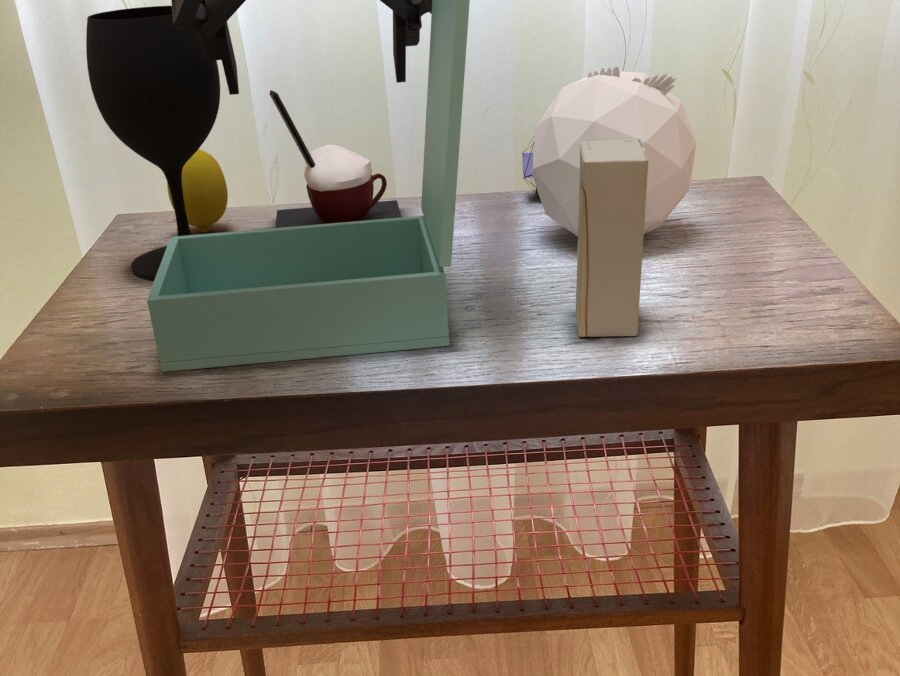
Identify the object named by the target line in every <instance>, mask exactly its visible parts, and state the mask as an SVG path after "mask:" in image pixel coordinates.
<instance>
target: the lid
mask: <svg viewBox="0 0 900 676" xmlns="http://www.w3.org/2000/svg"><path fill="white" fill-rule="evenodd" d="M470 1H471V0H432V14H431V18H430V19H431V20H430V35H429V36H430V37H429V55H428V74H427V76H428V77H427V90H426V91H427V92H426V93H427V94H426V109H425V129H424V147H423V165H422V186H421V201H420V203H421V204H420V209H421V212H422V216H424V219H425V222H426V225H427V228H428V231H429V234H430V237H431V241H432V244H433V247H434V250H435V253H436V256H437V259H438V262H439V265H440V267H443V268H451V266H452V260H453V259H452V257H453V245H454V244H453V243H454V230H455V229H454V228H455V214H456V199H457V184H458V175H459V174H458V171H459V160H460V157H459V156H460V146H461V145H460V144H461V131H462V117H463V115H462V114H463V100H464V89H465V88H464V86H465V73H466V58H467V45H468V31H469V19H470V18H469V16H470V3H471V2H470Z"/></svg>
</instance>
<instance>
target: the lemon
mask: <svg viewBox="0 0 900 676" xmlns="http://www.w3.org/2000/svg"><path fill="white" fill-rule="evenodd" d="M166 187H167V194H168V198H169V202H170V204H171V207H172V209H173V210H174V206H173V201H172V197H171V193H170V189H169V186H168V183H167V182H166ZM182 189H183V197H184V203H185V210H186V215H187V220H188V223H189V226H193V227H195V228H196V229H197V230H199V232H200V233H207V232H210V229H211V227H213V225H214V224H216V223H217V222H219V221H220V220H221V219H222V217H223V216H224V214H225V212H226V210H227V206H228V199H229V193H228V186H227V182H226V178H225V175H224V172H223V170H222V168H221V166H220V164H219V162H218V161H217V160H216V158H215V157H214V156H212V155H211V154H210V153H209V152H207V151H205V150H203V149H200V148H199V149H198V150H197V151H196V153H195V154H194V155H193V156H192V157H191V158H190V159H189V160H188V161H187V162H186V163H185V165H184V167H183V169H182Z"/></svg>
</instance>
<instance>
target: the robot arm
mask: <svg viewBox="0 0 900 676" xmlns="http://www.w3.org/2000/svg"><path fill="white" fill-rule="evenodd" d="M246 1H247V0H171V6H172V16H173V28H174V30H175V31H176V32H179V33H186V32H188V31H189V30H190V29H193V30H196V31H198V32H199V33H200V34H201V37H202V41H203V44H204V48H205V52H206V56H207V58H208V59H209V60H210V61H213V60H217V61H221V65H222V68H223V73H224V77H225V81H226V84H227V89H228V93H229V96H230V95H231V96H232V95H240V88H239V79H238V77H239V76H238V67H237V61H236V56H235V52H234V51H235V50H234V46H233V42H232V37H231V33H230V30H229V29H230V28H229V25H228V24H229V23H228V21H229V20H230V19H231V18H232V16H233V15H234V14H235V13H236V12H237V11H238V10H239V9H240V8H241V6H242V5H243V4H244V3H245V2H246ZM379 1H380V3H382V4H383V5H384V6H386V7H387V8H388V9H390V10H391V11H392V55H393V56H392V57H393V63H394V72H395V80H396V81H395V82H396V83H406V81H407V77H406V76H407V47H417V46H418V45H419V43H420V38H421V37H420V36H421V29H422V27H423V22H422V17H423V16H424V15H426V14H428V13H429V14H430V15H432V0H379Z"/></svg>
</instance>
